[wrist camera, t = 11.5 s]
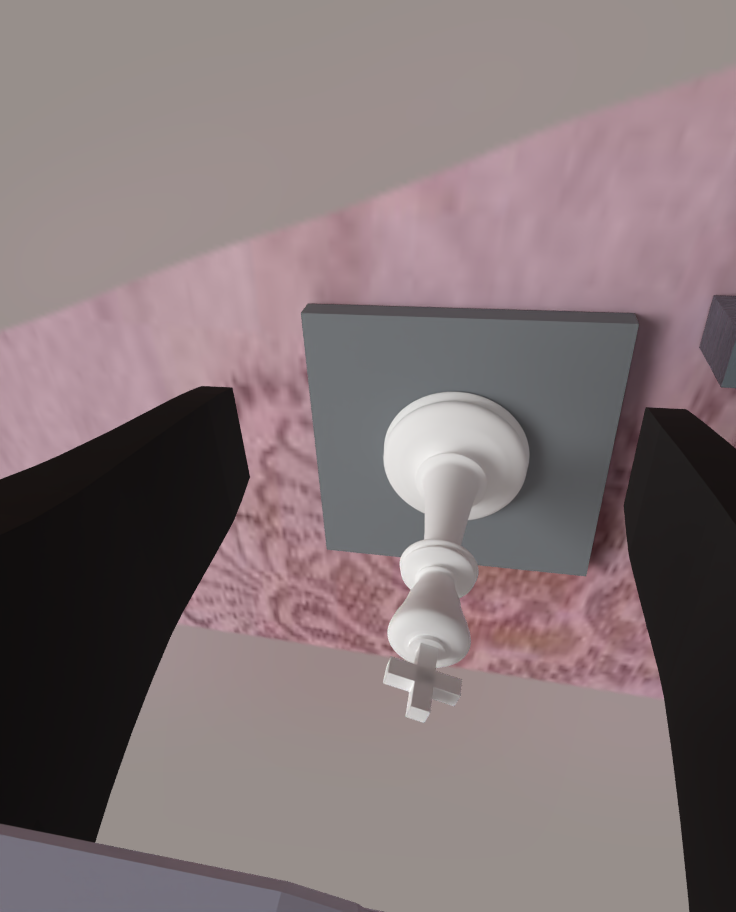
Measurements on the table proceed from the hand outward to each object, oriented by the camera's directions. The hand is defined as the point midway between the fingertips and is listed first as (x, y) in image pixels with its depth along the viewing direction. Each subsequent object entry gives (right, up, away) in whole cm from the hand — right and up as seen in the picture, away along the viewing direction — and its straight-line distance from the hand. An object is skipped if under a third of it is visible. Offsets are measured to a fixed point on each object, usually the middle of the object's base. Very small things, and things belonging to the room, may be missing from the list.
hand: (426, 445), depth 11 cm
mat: (+2, 0, +11) cm, 11 cm away
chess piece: (+2, 0, +11) cm, 11 cm away
